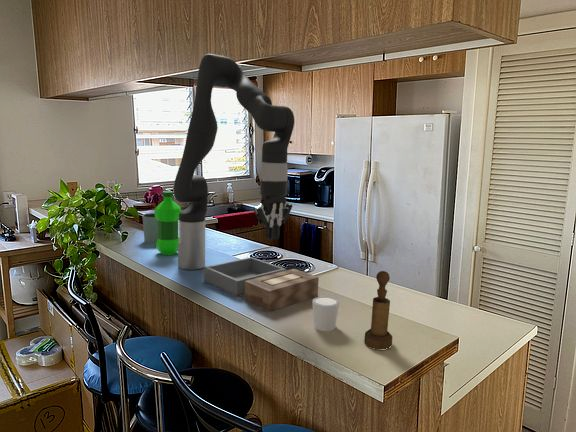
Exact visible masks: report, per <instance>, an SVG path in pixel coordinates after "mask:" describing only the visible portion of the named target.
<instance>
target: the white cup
mask: <svg viewBox="0 0 576 432" xmlns="http://www.w3.org/2000/svg"><path fill="white" fill-rule="evenodd" d="M311 302H312V303H311V304H312V319H313V322H312V323H313V328H314V329H315V330H316V331H320V332H332V331H334V330H335V329H336V326H337V325H336V324H337V317H338V310H339V305H340V301H339V300H338V299H336V298H334V297H330V296H316V297H313V299H312V301H311Z"/></svg>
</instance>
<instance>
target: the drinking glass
mask: <svg viewBox="0 0 576 432" xmlns="http://www.w3.org/2000/svg"><path fill="white" fill-rule="evenodd" d="M141 216H142V218H141V219H142V228H143V238H144V243H146V244H151V245H152V244H153V245H154V244H155V245H156V242H157V240H158V220H157V219H156V218H155V215H154V212H150V213H149V212H147V213H144V214H142V215H141Z"/></svg>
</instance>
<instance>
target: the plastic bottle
mask: <svg viewBox="0 0 576 432" xmlns="http://www.w3.org/2000/svg"><path fill="white" fill-rule="evenodd" d="M161 195H162V198H163V201H161V202H160V203H159V204H158V205H157V206H156V207H155V209H154V212H153V213H154V215H155V218H156V219H157V220H158V240H157V242H156V244H155V248H156V249H157V250H158V252H160V253H161V254H162V255H164V256H172V255H173V256H174V255H176V253H178V242H179V213H180V212H181V211H182V208H181V206H180V205H178V203H176V202H175V201H174V200H173V197H174V191H172V190H171V191H169V190H163V191H162V192H161Z"/></svg>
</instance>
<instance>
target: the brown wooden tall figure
mask: <svg viewBox="0 0 576 432" xmlns="http://www.w3.org/2000/svg"><path fill="white" fill-rule="evenodd" d="M375 278H376V281H377V283H378V288H377V290H376V292H377V293H376V294H377V296H375V297H373V299H372V307H371V308H372V312H371V320H370V321H371V322H370V328H369V329H368V330H366V331H365V333H364V338H363V339H364V344H366V345H367V346H366V345H365V346H366V347H368V348H369V347H371V348H370V349H372V348H375V349H374V350H376V349H386V348H389V347H390V346H391V345H392V346H393V335H392V334H391V332H389V331H388V327H389V316H390V306H391V301H390V299H389V298H386V296H387V293H388V290H387V289H386V286H387V285H388V283H389V281H390V278H391V277H390V274H389V273H388V271H385V270H381V271H379V272H377V273H376V276H375ZM392 346H391V347H392ZM389 349H390V348H389Z"/></svg>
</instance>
